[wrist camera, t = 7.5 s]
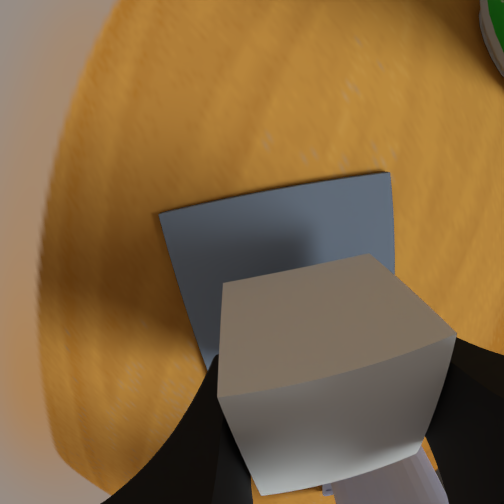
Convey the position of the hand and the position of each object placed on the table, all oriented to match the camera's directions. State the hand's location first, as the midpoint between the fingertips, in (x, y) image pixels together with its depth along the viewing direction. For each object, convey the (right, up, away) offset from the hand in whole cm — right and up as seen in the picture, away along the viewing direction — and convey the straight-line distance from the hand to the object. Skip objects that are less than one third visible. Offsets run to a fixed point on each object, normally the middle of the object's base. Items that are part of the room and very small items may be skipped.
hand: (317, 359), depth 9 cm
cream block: (0, +1, +1) cm, 2 cm away
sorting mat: (0, +1, +3) cm, 4 cm away
